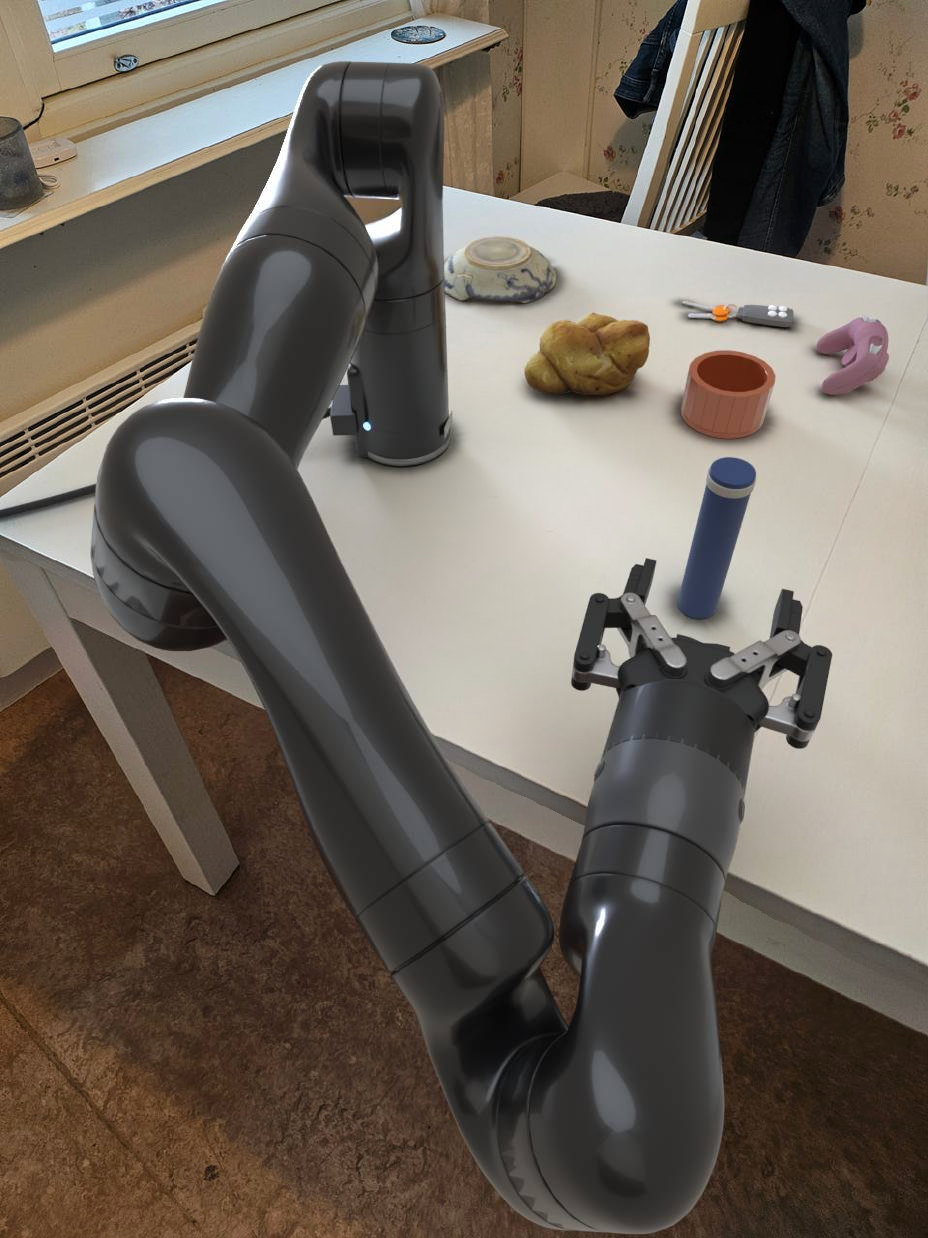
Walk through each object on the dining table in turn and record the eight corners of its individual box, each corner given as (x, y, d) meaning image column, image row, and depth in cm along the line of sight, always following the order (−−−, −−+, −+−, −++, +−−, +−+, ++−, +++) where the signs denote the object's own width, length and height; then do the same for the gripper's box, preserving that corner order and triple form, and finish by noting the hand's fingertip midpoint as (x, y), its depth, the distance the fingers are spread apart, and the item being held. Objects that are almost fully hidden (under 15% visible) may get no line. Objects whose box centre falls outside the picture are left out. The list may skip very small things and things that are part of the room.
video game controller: (851, 412, 93) (903, 363, 88) (817, 392, 92) (867, 341, 87) (843, 363, 99) (891, 315, 94) (811, 344, 99) (858, 294, 93)
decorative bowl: (414, 278, 112) (495, 319, 104) (413, 249, 109) (496, 289, 101) (498, 243, 119) (580, 279, 111) (499, 215, 116) (582, 250, 108)
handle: (680, 620, 71) (714, 486, 61) (672, 590, 73) (704, 456, 63) (721, 619, 71) (763, 485, 61) (713, 590, 73) (751, 455, 63)
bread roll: (529, 410, 91) (533, 341, 85) (515, 361, 98) (517, 293, 92) (649, 400, 92) (660, 331, 86) (626, 352, 99) (636, 285, 93)
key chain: (791, 315, 104) (794, 303, 103) (791, 330, 102) (794, 319, 100) (681, 303, 106) (683, 291, 105) (679, 318, 104) (681, 306, 103)
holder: (689, 439, 88) (698, 397, 84) (674, 393, 93) (682, 351, 90) (772, 437, 88) (785, 395, 84) (752, 391, 93) (763, 349, 90)
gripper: (533, 789, 50) (601, 598, 60) (790, 866, 46) (814, 649, 57) (540, 709, 44) (613, 514, 55) (832, 790, 41) (850, 565, 51)
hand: (716, 583), depth 56 cm, fingers open, 8 cm apart
